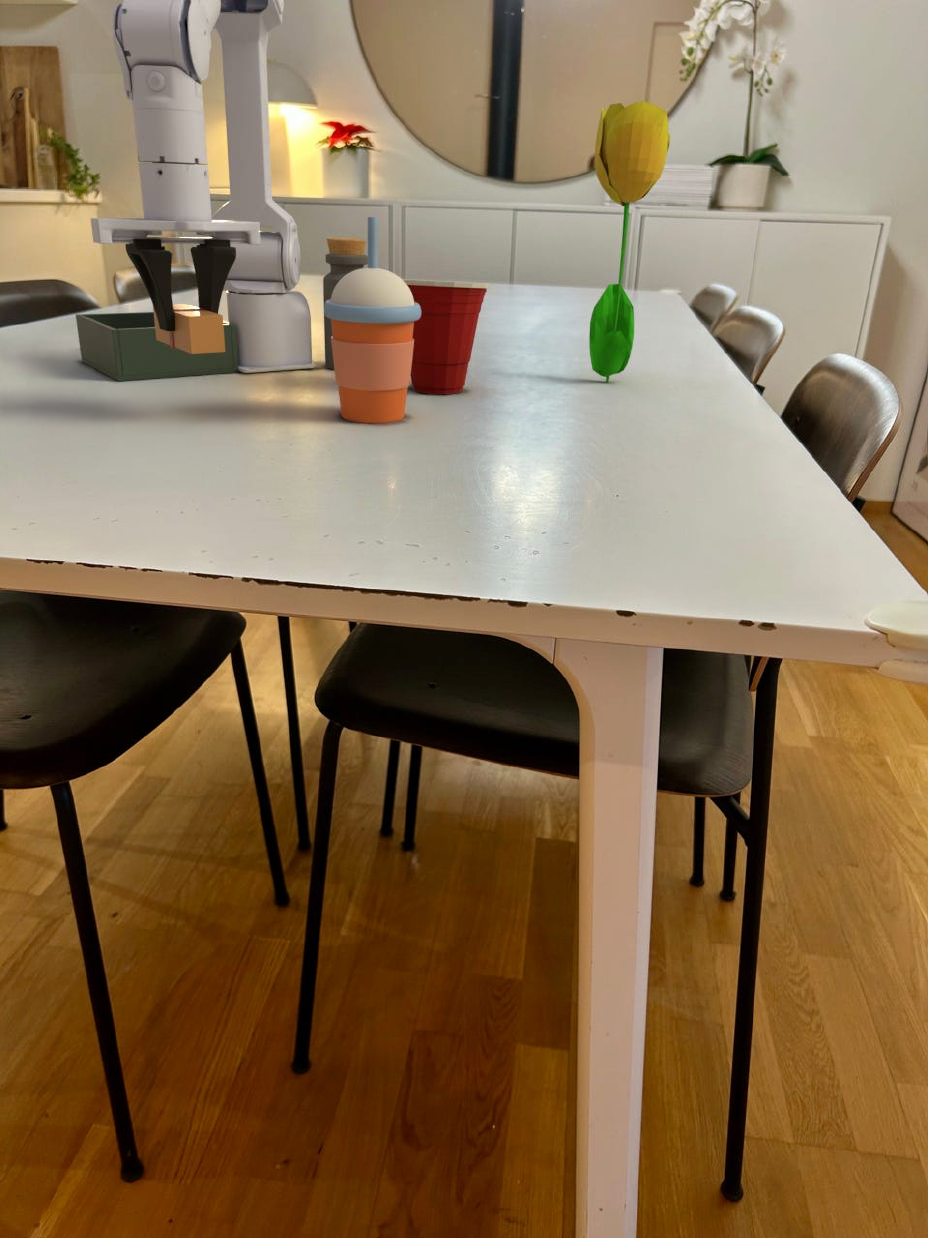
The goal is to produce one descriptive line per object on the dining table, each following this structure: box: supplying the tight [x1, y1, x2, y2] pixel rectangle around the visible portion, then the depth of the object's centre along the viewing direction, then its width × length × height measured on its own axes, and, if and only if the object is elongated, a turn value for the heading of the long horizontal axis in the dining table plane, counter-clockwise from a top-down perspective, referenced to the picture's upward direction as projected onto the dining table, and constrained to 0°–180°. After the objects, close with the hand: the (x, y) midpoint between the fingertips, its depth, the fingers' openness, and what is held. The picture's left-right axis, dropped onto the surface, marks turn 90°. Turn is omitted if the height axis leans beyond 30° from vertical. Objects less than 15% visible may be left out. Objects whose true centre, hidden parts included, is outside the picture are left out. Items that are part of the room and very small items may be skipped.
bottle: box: [322, 237, 368, 370], centre depth 111 cm, size 6×6×15 cm
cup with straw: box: [323, 216, 421, 424], centre depth 85 cm, size 9×9×18 cm
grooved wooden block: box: [152, 303, 225, 354], centre depth 83 cm, size 3×9×3 cm, turn 36°
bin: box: [75, 311, 240, 382], centre depth 108 cm, size 14×14×6 cm
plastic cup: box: [402, 279, 491, 395], centre depth 100 cm, size 11×11×12 cm
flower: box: [588, 100, 671, 384], centre depth 105 cm, size 9×8×30 cm
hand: (187, 328), depth 83 cm, fingers closed on grooved wooden block, 3 cm apart
